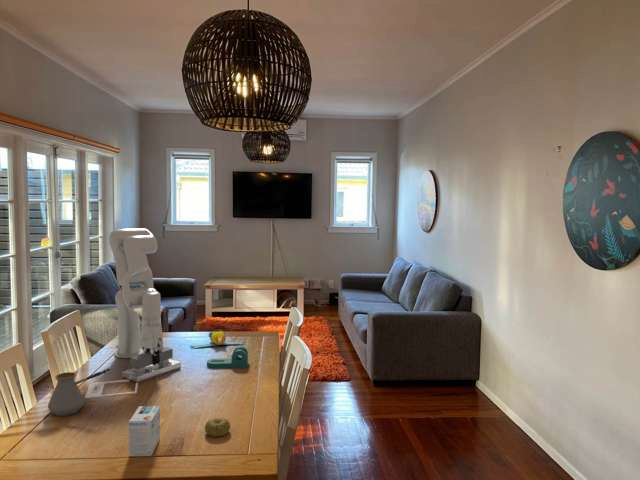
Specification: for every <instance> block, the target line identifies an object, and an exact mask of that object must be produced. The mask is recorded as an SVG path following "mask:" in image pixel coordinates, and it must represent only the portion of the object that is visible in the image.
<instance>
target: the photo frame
mask: <svg viewBox="0 0 640 480" xmlns="http://www.w3.org/2000/svg"><path fill="white" fill-rule="evenodd" d="M124 382H125V383H126V382H130V381H129V380H124V379H122V380H121V379H120V380H110V381H98V382H97V381H96V382H91V383H90V384H89V387H88V388H87V391H86V394H85V396H84V399H91V398H93V399H95V398H103V397H113V396H122V395H123V396H124V395H135V394H137V393H138V386H139V384H138V383H135V387H134V391H129V392H128V391H127V392H117V393H108V394H102V393H103V392H104V391H103V390H104V388H105V385H106V384H113V383H114V384H115V383H124Z"/></svg>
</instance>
